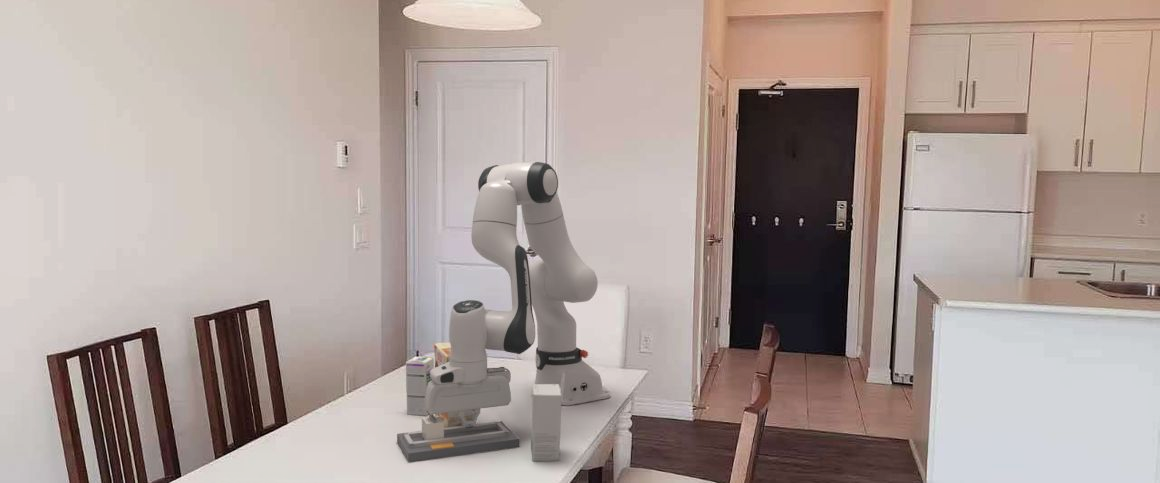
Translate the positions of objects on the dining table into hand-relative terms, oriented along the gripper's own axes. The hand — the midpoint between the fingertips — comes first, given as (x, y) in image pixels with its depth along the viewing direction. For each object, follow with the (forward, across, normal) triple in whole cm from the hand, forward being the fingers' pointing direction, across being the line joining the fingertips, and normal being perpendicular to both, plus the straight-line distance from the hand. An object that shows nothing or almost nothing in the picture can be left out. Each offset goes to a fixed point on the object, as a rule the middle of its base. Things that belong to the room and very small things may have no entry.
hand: (469, 427), depth 188 cm
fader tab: (+1, +9, 0) cm, 9 cm away
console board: (+4, +3, 0) cm, 5 cm away
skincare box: (+4, -14, +14) cm, 21 cm away
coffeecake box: (+4, 0, -16) cm, 16 cm away
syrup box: (+4, +6, -28) cm, 29 cm away
